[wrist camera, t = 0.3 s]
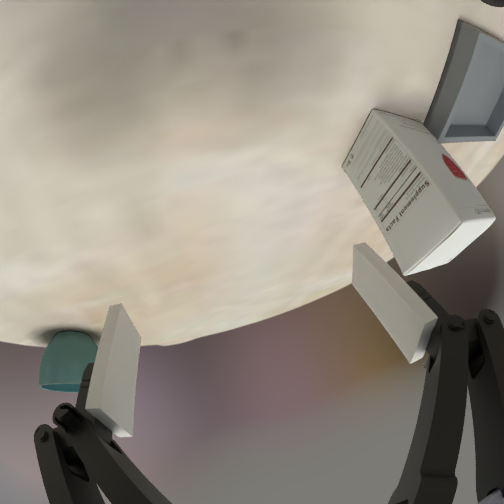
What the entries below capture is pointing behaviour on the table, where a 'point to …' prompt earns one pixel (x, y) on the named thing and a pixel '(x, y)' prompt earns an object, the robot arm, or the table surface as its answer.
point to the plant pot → (66, 361)
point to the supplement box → (415, 192)
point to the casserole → (494, 2)
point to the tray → (469, 89)
